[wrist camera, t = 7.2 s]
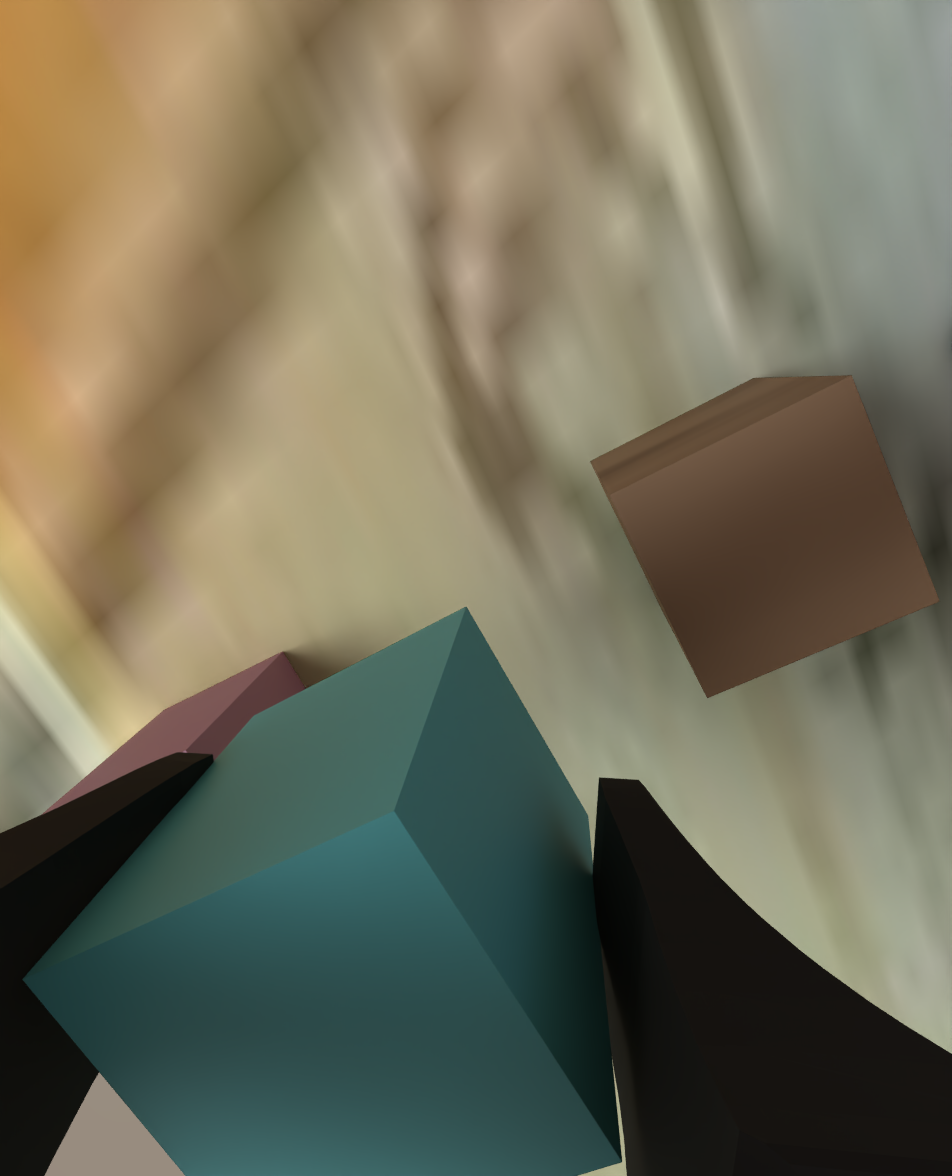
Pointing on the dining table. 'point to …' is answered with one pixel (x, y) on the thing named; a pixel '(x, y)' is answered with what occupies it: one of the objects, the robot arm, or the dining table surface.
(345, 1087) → the teal block
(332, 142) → the dining table surface
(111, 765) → the plum block
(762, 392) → the walnut block
